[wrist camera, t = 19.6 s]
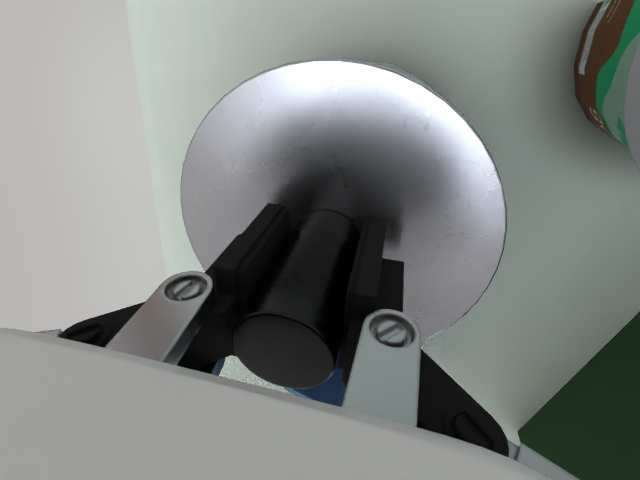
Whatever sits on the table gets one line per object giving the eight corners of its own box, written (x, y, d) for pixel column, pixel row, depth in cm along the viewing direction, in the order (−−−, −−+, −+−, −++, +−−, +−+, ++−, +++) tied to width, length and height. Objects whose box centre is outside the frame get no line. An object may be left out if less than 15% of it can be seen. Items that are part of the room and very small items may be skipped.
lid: (448, 358, 15) (469, 526, 10) (214, 307, 17) (127, 426, 12) (562, 72, 9) (782, 121, 4) (170, 44, 11) (-53, 50, 6)
